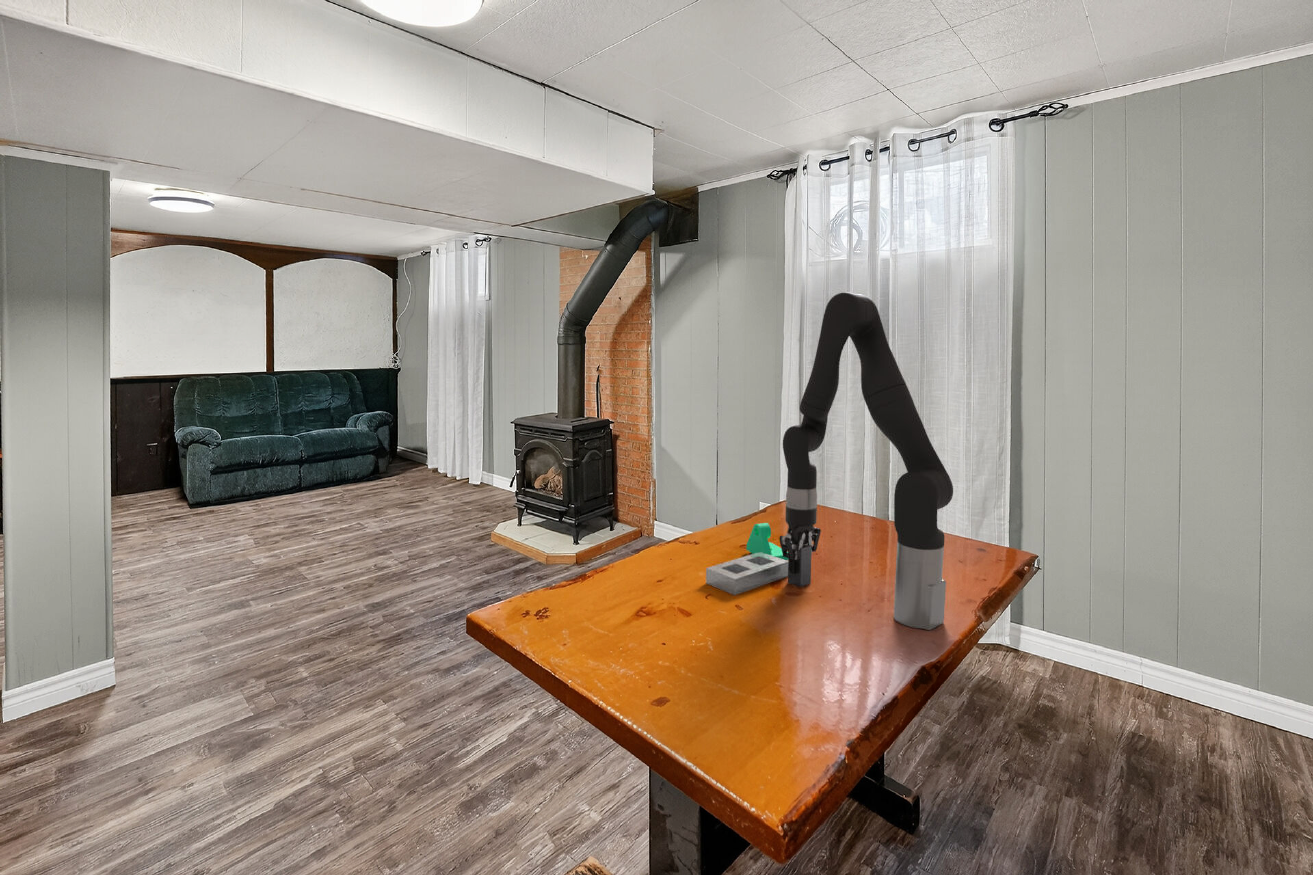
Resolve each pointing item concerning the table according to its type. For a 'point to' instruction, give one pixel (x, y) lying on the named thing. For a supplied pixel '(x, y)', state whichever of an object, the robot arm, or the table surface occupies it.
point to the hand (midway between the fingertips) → (799, 570)
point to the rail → (746, 572)
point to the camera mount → (763, 541)
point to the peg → (802, 567)
